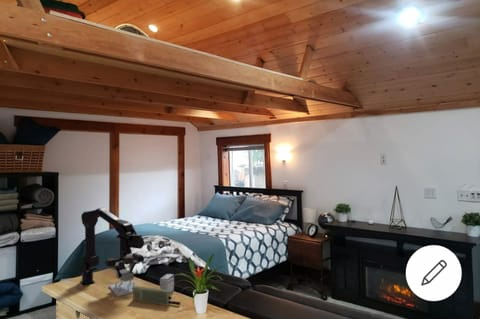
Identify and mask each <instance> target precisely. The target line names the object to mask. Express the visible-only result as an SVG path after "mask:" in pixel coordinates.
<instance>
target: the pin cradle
mask: <svg viewBox="0 0 480 319" xmlns="http://www.w3.org/2000/svg"><path fill="white" fill-rule="evenodd" d="M134 286H138V285H137V284H136V282H134V281H132V280H129V281H125V282H124V281H122V280H120V282H119V283H118V282H117V281H114V283H113V284H109V285H108V287H109V289H110V290H111V291H112V292H113V293H114V294H115V295H116V296H117V297H120V296H125V295H129V294H133V287H134Z"/></svg>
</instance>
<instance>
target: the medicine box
mask: <svg viewBox="0 0 480 319" xmlns="http://www.w3.org/2000/svg"><path fill="white" fill-rule="evenodd" d="M159 289H164V290H171V292H170V293H171V294H172V293H173V292H174V291H175V275H174V273H173V274H172V273H166V274H164V275H163V276H162V277H160V278H159Z"/></svg>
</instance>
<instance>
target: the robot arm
mask: <svg viewBox="0 0 480 319" xmlns="http://www.w3.org/2000/svg"><path fill="white" fill-rule="evenodd" d="M99 218H101V219H103V220H104V221H105V222H107V223H108V224H110V225H111V226H112V227H114V231H116V232H117V234H118V235H117V236H116V237H115V238H116V239H118V240H119V243H118V244H119V248H118V252H119V254H118V255H119V256H118V258H117V259H116V258H114V257H109V258H106V259H105V263H104V264H105V265H106V266H107V267H109V268H110V267H113V268H114V269H115V272H117V274H118V277H119V278H120V270H121V269H120V267H121V265H120V264H121V263H123V265H129V269H128V270H129V271H131V272H133V271H134V268H135V267H136V265H137V264H139V263H141V262H144V261H145V258H144V255H142V254H140V253H137V252H134V253H133V252H132V249H140V250H141V249H142V248H143V247H144V246H145V240H144V237H143V236H142V234H139V235H138V232H137V231H136V230H135V228H134V226H133V224H132V223H131V222H129V221H127V220H124V219H121V218H119V217H117V216H116V215H115V214H113V213H111V212H110V211H109V210H107V208H105V207H100V208H97V209H94V210H88V211H83V212H82V214H81V218H80V219H81V223H82V225H83V227H84V230H85V231H84V237H85V238H84V240H85V241H84V243H85V244H84V246H85V248H84V251H85V252H84V253H85V254H84V256H83V257H82V261H81V265H80V266H79V267H78V268H77V273H78V274H81V280H79V282H80V284H81V286H85V285H90V284H95V283H96V281H95V280H94V271H96V270H97V269H98V266H100V265H99V264H100V255H97V253H96V233H95V232H96V226H97V224H98V222H99V221H98V220H99ZM119 263H120V264H119Z"/></svg>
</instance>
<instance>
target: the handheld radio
mask: <svg viewBox="0 0 480 319" xmlns="http://www.w3.org/2000/svg"><path fill="white" fill-rule="evenodd" d="M170 292H171V290H164V289H160V288H154V287H147V286H146V287H145V286H139V285H137V286H134V287H133V293H132V301H134V302H140V303H141V302H142V303H147V304H156V305H163V306H171V305H177V306H181V302H180V301H173V300H172V296H171V295H172V293H170Z"/></svg>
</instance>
